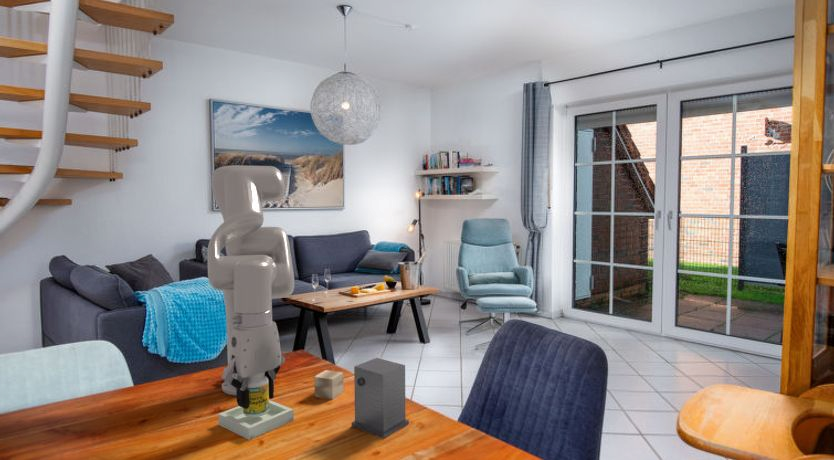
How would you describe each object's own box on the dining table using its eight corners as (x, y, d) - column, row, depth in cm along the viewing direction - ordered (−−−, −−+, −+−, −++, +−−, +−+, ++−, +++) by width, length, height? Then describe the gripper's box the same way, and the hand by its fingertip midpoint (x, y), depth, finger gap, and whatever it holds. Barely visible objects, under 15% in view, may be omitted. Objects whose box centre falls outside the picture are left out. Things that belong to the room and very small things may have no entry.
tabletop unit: (351, 426, 107) (350, 366, 106) (377, 413, 113) (376, 356, 112) (383, 438, 101) (383, 375, 100) (408, 424, 108) (408, 365, 107)
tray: (218, 424, 107) (218, 413, 107) (262, 407, 116) (262, 397, 116) (249, 440, 101) (249, 428, 101) (293, 420, 110) (293, 409, 109)
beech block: (314, 396, 122) (314, 376, 122) (326, 389, 127) (325, 369, 127) (332, 400, 120) (332, 379, 120) (343, 392, 125) (343, 372, 125)
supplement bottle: (265, 405, 112) (264, 362, 111) (272, 414, 108) (271, 369, 107) (240, 411, 109) (238, 367, 108) (246, 420, 105) (245, 374, 104)
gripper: (227, 330, 98) (229, 421, 99) (297, 313, 111) (299, 393, 113) (205, 324, 102) (208, 411, 104) (276, 308, 116) (277, 385, 117)
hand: (255, 401), depth 108 cm, fingers closed on supplement bottle, 5 cm apart
